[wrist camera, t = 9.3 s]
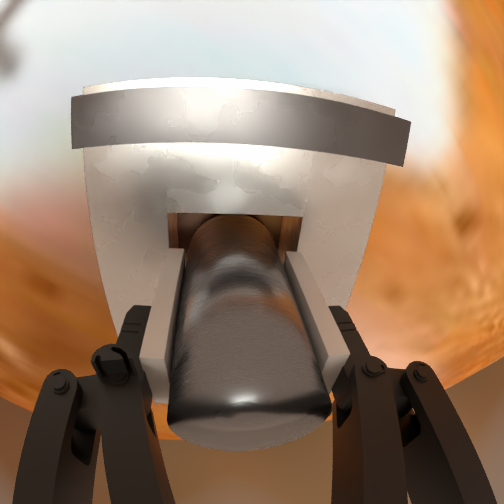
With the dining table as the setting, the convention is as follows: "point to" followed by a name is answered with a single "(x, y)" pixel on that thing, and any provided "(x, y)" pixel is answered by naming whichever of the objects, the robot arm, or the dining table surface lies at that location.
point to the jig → (230, 172)
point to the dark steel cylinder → (241, 345)
